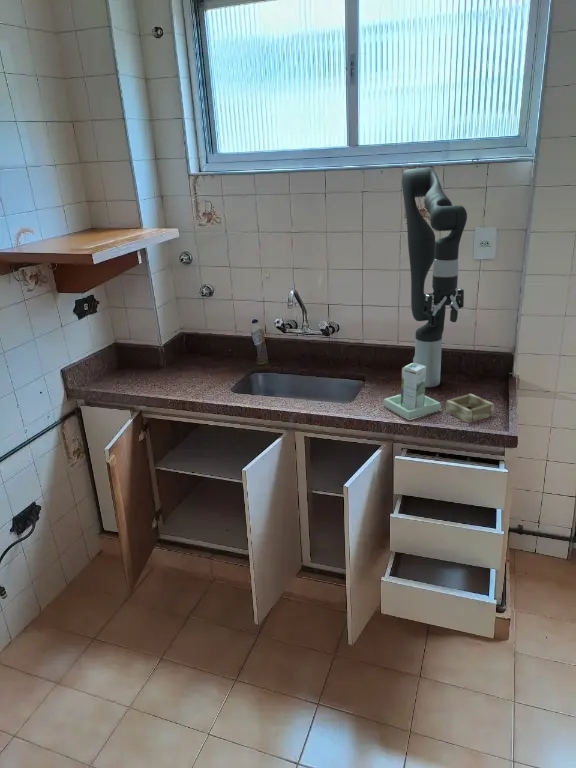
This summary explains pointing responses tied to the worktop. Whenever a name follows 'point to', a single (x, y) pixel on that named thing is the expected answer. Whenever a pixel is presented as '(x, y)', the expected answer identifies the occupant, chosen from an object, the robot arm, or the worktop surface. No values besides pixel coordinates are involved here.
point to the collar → (462, 412)
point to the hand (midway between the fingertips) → (442, 324)
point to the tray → (428, 408)
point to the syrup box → (413, 386)
